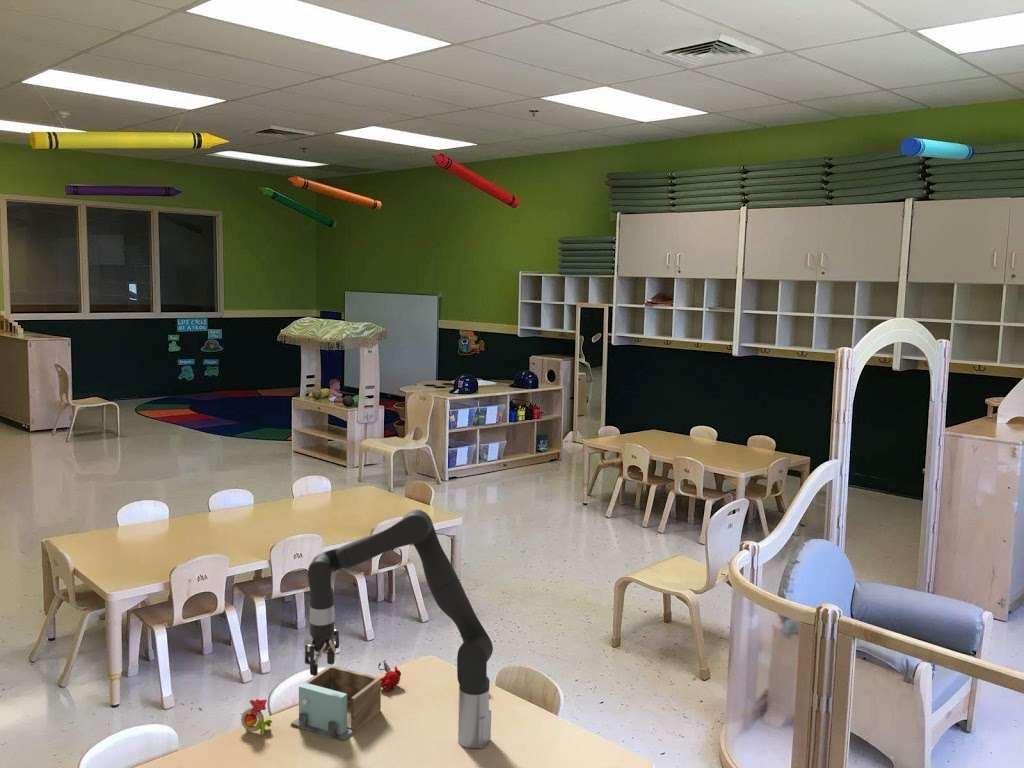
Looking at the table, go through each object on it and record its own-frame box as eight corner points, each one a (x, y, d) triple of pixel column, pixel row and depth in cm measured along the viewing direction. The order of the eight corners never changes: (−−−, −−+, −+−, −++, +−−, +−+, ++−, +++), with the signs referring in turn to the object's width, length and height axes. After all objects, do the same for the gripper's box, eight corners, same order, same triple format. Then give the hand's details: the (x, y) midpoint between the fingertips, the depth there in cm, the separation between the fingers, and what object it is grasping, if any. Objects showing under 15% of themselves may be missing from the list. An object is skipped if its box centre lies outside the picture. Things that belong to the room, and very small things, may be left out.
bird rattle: (244, 744, 262) (271, 734, 261) (230, 711, 261) (256, 702, 260) (252, 733, 269) (278, 723, 268) (237, 701, 268) (263, 692, 267)
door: (346, 730, 266) (347, 693, 265) (338, 736, 262) (338, 699, 261) (305, 718, 273) (304, 682, 271) (296, 724, 269) (296, 688, 267)
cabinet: (380, 710, 280) (380, 678, 279) (343, 741, 261) (343, 706, 260) (329, 696, 288) (329, 665, 287) (290, 725, 270) (290, 692, 268)
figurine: (395, 669, 308) (406, 689, 294) (372, 677, 305) (382, 698, 291) (391, 653, 306) (402, 672, 292) (368, 661, 303) (379, 681, 290)
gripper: (318, 630, 256) (318, 681, 258) (345, 613, 268) (346, 662, 271) (297, 625, 259) (298, 676, 261) (326, 609, 271) (326, 657, 274)
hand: (322, 669), depth 266 cm, fingers open, 8 cm apart
